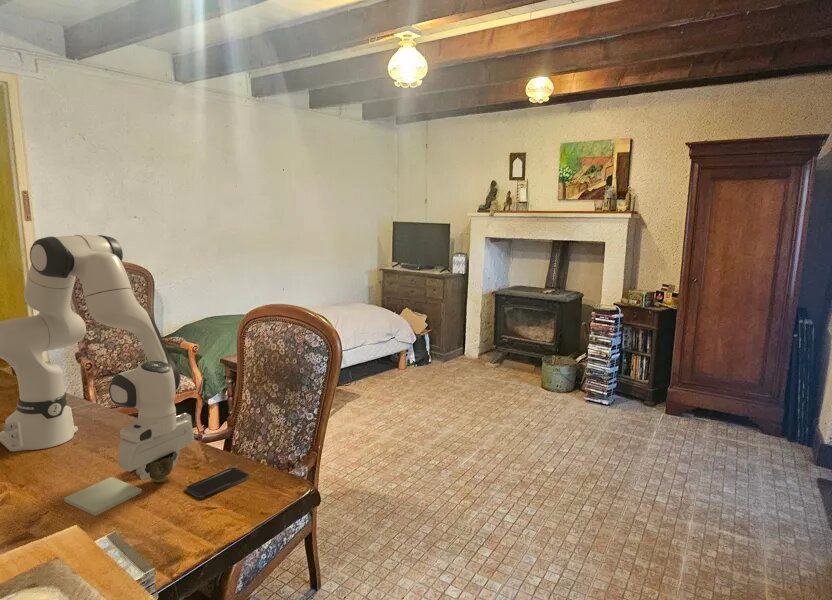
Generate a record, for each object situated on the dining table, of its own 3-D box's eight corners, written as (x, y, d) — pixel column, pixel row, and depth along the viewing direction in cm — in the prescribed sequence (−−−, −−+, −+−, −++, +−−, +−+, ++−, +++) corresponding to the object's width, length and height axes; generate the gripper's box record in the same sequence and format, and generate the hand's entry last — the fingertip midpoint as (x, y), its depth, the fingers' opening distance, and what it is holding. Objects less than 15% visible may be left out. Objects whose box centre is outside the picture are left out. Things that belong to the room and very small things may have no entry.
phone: (183, 487, 133) (233, 466, 145) (183, 491, 133) (233, 470, 146) (201, 498, 129) (250, 475, 141) (201, 502, 129) (250, 479, 141)
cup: (162, 490, 133) (161, 461, 131) (137, 486, 134) (136, 457, 133) (180, 476, 140) (180, 449, 139) (157, 472, 141) (156, 445, 140)
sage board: (64, 501, 125) (64, 497, 125) (111, 480, 136) (111, 476, 136) (94, 515, 120) (94, 512, 120) (141, 492, 131) (141, 489, 131)
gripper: (182, 408, 145) (183, 454, 147) (113, 433, 127) (115, 485, 129) (198, 412, 142) (199, 459, 144) (129, 439, 124) (131, 492, 126)
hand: (159, 472), depth 136 cm, fingers closed on cup, 7 cm apart
